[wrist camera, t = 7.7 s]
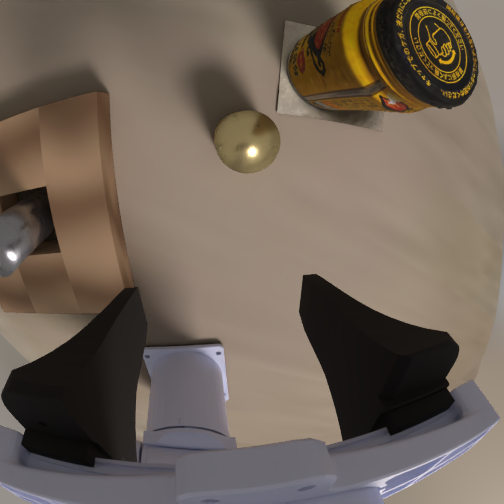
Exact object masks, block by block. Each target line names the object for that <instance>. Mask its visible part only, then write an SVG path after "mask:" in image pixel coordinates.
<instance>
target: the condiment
mask: <svg viewBox="0 0 504 504" xmlns="http://www.w3.org/2000/svg"><path fill="white" fill-rule="evenodd" d="M477 76H478V60H477V53H476V49H475V46H474V43H473V40H472V38H471V36H470V34H469V32H468V30H467V28H466V26H465V24H464V22H463V21H462V19H461V18H460V17H459V16H458V14H457V13H456V12H455V11H454V10H453V9H452V8H451V6H450V5H448V4H447V3H446V2H445V1H443V0H361V1H359V2H357V3H354V4H352V5H350V6H349V7H348V8H346V9H345V10H343V11H342V12H340V13H339V14H337V15H336V16H334V17H332V18H331V19H329V20H328V21H326V22H325V23H323V24H322V25H320V26H318V27H315V26H310V25H306V24H301V23H296V22H291V21H287V20H285V27H284V39H283V49H282V60H281V72H280V84H279V98H278V109H277V113H281V114H289V115H297V116H304V117H311V118H317V119H323V120H329V121H334V122H340V123H346V124H350V125H355V126H359V127H364V128H369V129H373V130H378V131H382V124H383V122H382V118H383V111H388V112H399V113H413V112H417V111H420V110H423V109H425V108H427V107H437V108H446V109H452V107H457V106H459V105H462V104H463V103H464V102H465V101H466V100H467V99H468V98H469V96H470V95H471V94H472V92H473V90H474V88H475V86H476V84H477Z"/></svg>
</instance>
